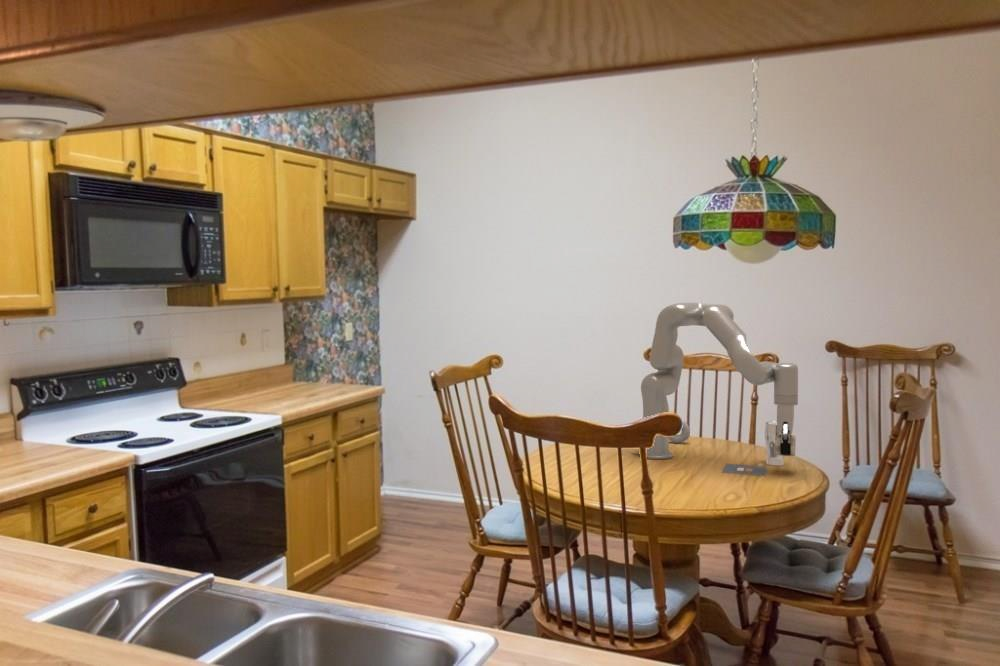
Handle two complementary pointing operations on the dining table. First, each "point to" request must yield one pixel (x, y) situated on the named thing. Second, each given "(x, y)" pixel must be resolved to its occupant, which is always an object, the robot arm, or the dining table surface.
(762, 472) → the gray mat
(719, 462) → the dining table surface
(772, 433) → the beer glass
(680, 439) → the donut
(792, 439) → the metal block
